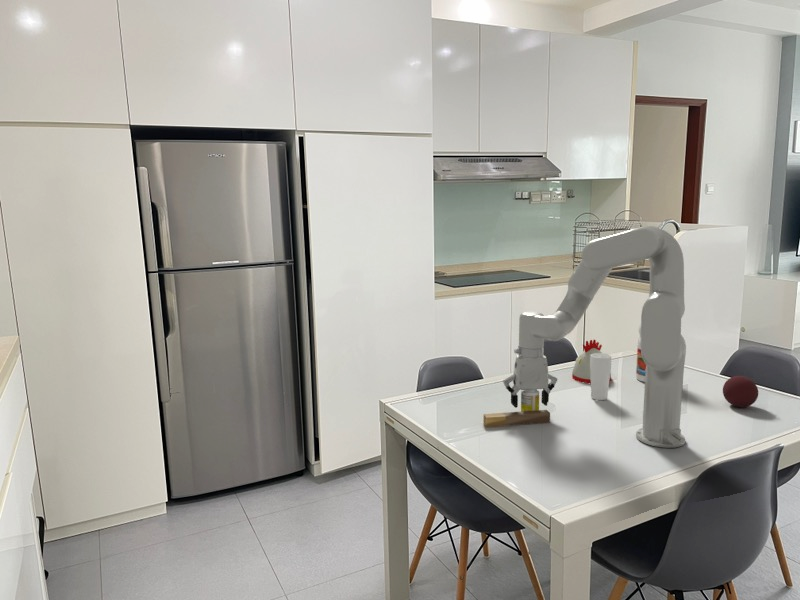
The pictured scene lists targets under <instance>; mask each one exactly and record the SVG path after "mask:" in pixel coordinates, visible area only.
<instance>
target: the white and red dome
mask: <svg viewBox="0 0 800 600" xmlns="http://www.w3.org/2000/svg"><path fill="white" fill-rule="evenodd" d="M602 347H603V345H602V344H600V342H598V341H597V340H596V339H593V340H592V339H590V340H589V341H588V340H586V341H585V344H582V349H583V351H582V352H581V353H580V354H579V355H578V356H577V357H576V358H575V361H574V362H575V363H574V365H573V368H572V374H571V375H572V376H571V377H572V380H574V381H576V382H579V383H582V382H584V383H583V384H588V383H590V385H591V378H590V357H591V354H594V353H603V352H602V351H601V349H602ZM611 381H612V372H610V379H609V383H610V382H611Z"/></svg>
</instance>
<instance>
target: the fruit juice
mask: <svg viewBox="0 0 800 600" xmlns="http://www.w3.org/2000/svg"><path fill="white" fill-rule="evenodd" d="M638 333H639V338H638V341H637V345H636V346H637V349H636V350H637V351H636V368H635V369H636V370H635V371H636V372H635V377H636V379H637V381H640V382H643V383H645V375H646V363H645V362H644V360H643V358H642V355H641V323H640V324H639V325H638Z"/></svg>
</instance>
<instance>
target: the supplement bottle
mask: <svg viewBox="0 0 800 600" xmlns="http://www.w3.org/2000/svg"><path fill="white" fill-rule="evenodd" d="M536 410H540V391H539V389H533V390H520V412H521V411H536Z"/></svg>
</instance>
